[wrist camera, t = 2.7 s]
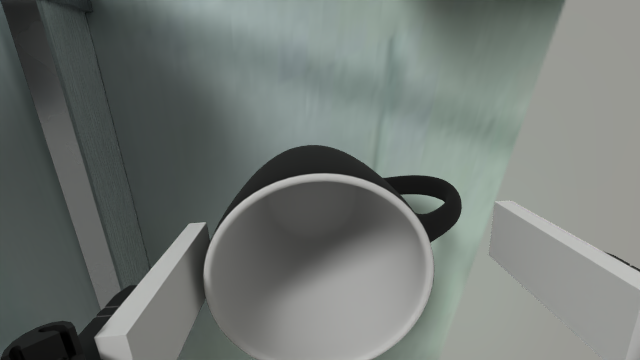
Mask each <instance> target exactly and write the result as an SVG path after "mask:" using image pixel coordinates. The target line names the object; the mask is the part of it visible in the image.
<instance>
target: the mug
mask: <svg viewBox="0 0 640 360" xmlns="http://www.w3.org/2000/svg"><path fill="white" fill-rule="evenodd" d="M403 194H421V195H428V196H432V197H436V198H438V199H441V200H443V201H444V202H445V203H444V204H443V205H442V206H441V207H439V208H438V209H436V210H435V211H433V212H430V213H428V214H417V213H415V212H414V211H413V210H412V208H411V207H410V206H409V205H408V203H407V202H406V201H405V200H404V199H403V197H402V196H401V195H403ZM461 209H462V204H461V199H460V196H459V193H458V192H457V190H456V189H455V188H454V186H452V185H451V184H450V183H448V182H447V181H445V180H442V179H439V178H435V177H430V176H420V175H410V176H397V177H389V178H382V177H381V176H379V175H378V174H377V173H376V172H374V171H373V170H372V169H371V168H369V167H368V166H367V165H365V164H364V163H362V162H361V161H359V160H357V159H356V158H354V157H353V156H351V155H349V154H347V153H345V152H342V151H340V150H337V149H334V148H331V147H326V146H319V145H307V146H300V147H296V148H293V149H290V150H287V151H285V152H283V153H281V154H279V155H277V156H276V157H274V158H273V159H271V160H270V161H269V162H267V163H266V164H265V165H264V166H263V167H261V168H260V169H259V170H258V171H257V172H256V173H255V174H254V175H253V176H252V177H251V179H250V180H249V181H248V182H247V183H246V184H245V185H244V187H243V188H242V189H241V191H240V192H239V193H238V194H237V196H236V197H235V198H234V200H233V201H232V203H231V204H230V206H229V207H228V209H227V210H226V212H225V214H224V215H223V217H222V219H221V220H220V222H219V224H218V226H217V228H216V230H215V232H214V234H213V236H212V239H211V241H210V244H209V247H208V250H207V253H206V258H205V263H204V273H203V280H204V291H205V296H206V300H207V304H208V306H209V309H210V311H211V314H212V316H213V317H214V319H215V321H216V323H217V324H218V326H219V327H220V329H221V330H222V331H223V332H224V334H225V335H226V336H227V337H228V338H229V339H230V340H231V341H232V342H233V343H234V344H235V345H236V346H238V347H239V348H240V349H241V350H243V351H244V352H246V353H247V354H249V355H250V356H252V357H254V358H255V359H257V360H372V359H374V358H376V357H378V356H379V355H381V354H383V353H384V352H386V351H387V350H389V349H390V348H392V347H393V346H394V345H395V344H397V343H398V342H399V341H400V340H401V339H402V338H403V337H404V336H405V335H406V334H407V333H408V332H409V331H410V330H411V328H412V327H413V326H414V325H415V323H416V322H417V320H418V319H419V318H420V316H421V314H422V312H423V311H424V309H425V306H426V304H427V302H428V299H429V296H430V293H431V290H432V285H433V279H434V258H433V252H432V247H431V244H430V243H431V242H432V241H434V240H435V239H437V238H438V237H440V236H441V235H443V234H444V233H445V232H447V231H448V230H449V229H450V228H451V227H452V226H454V224H455V223H456V222H457V221H458V219H459V217H460V214H461Z"/></svg>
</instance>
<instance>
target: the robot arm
mask: <svg viewBox="0 0 640 360" xmlns="http://www.w3.org/2000/svg"><path fill="white" fill-rule="evenodd" d="M209 244H210V239H209V234H208V228H207V222H202V223H189V224H188V225H187V227H186V228H185V229H184V230H183V231H182V233H181V234H180V235H179V236H178V237H177V239H176V240H175V241H174V242H173V243H172V245H171V246H170V247H169V248H168V249H167V251H166V252H165V253H164V254H163V255H162V257H161V258H160V259H159V260H158V261H157V263H156V264H155V265H154V266H153V267H152V269H151V270H150V271H149V272H148V273H147V275H146V276H145V277H144V278H143V279H142V281H141V282H140V283H139V284H138V285H129V286H128V287H126V288H125V289H123V290H122V291H120V292H119V293H117V294H116V295H115V296H114V297H113V298H112V299H111V300H110V301H109V302H108V303H107V304H106V306H105V308H103V309H102V310H101V311H100V312H99V313H98V314H97V317H96V318H94V319H93V320H92V321H91V322H90V323H89V324H88V326H87V327H86V328H85V329H84V330H83V331H82V332H81V333H80V334H79V335H77V332H76V329H75V327H74V325H73V324H72V323H71V322H66V321H59V322H52V323H49V324H46V325H43V326H40V327H37V328H35V329H33V330H31V331H29V332H27V333H25V334H24V335H22V336H21V337H19V338H18V339H16V340H15V341H13V342H12V343H11V344H10V345H9V346H8V347H7V348H6V349H5V350H4V352H3V354H2V356H1V360H177V358H178V356H179V354H180V352H181V350H182V348H183V346H184V343H185V341H186V339H187V337H188V335H189V333H190V330H191V328H192V326H193V324H194V322H195V320H196V318H197V315H198V313H199V311H200V309H201V307H202V305H203V302H204V300H205V298H206V296H205V291H204V280H203V273H204V263H205V258H206V253H207V250H208V247H209ZM489 255H490V256H491V257H492V258H493V259H494V260H495V261H496V262H497V263H498V264H499V265H500V266H501V267H503V268H504V269H505V270H506V271H507V272H508V273H509V274H510V275H511V276H512V277H513V278H515V279H516V280H517V281H518V282H519V283H520V284H521V285H522V286H523V287H524V288H525V289H526V290H528V291H529V292H530V293H531V294H532V295H533V296H534V297H535V298H536V299H537V300H538V301H540V302H541V303H542V304H543V305H544V306H545V307H546V308H547V309H548V310H549V311H551V312H552V313H553V314H554V315H555V316H556V317H557V318H558V319H559V320H560V321H561V322H562V323H564V324H565V325H566V326H567V327H568V328H569V329H570V330H571V331H572V332H573V333H574V334H576V335H577V336H578V337H579V338H580V339H581V340H582V341H583V342H584V343H585V344H587V345H588V346H589V347H590V348H591V349H592V350H593V351H594V352H595V353H596V354H597V355H598V356H600V357H601V358H602V359H603V360H640V269H638V268H636V267H634V266H630V264H629V263H627V262H625V261H623V260H622V259H619V258H618V257H616V256H614V255H611V254H609V253H606V252H603V251H601V250H599V249H597V248H596V247H594V246H592V245H590V244H588V243H587V242H585V241H583V240H581V239H579V238H578V237H576V236H574V235H572V234H570V233H569V232H567V231H565V230H563V229H561V228H560V227H558V226H556V225H554V224H552V223H551V222H549V221H547V220H545V219H543V218H541V217H540V216H538V215H536V214H534V213H533V212H531V211H529V210H527V209H525V208H524V207H522V206H520V205H518V204H516V203H515V202H513V201H497V202H495V203H494V212H493V221H492V231H491V239H490V249H489Z"/></svg>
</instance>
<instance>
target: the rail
mask: <svg viewBox="0 0 640 360" xmlns="http://www.w3.org/2000/svg"><path fill="white" fill-rule="evenodd" d="M0 1H1V3H2V6H3V9H4V12H5V15H6V18H7V21H8V24H9V27H10V30H11V33H12V37H13V40H14V43H15V46H16V49H17V52H18V55H19V58H20V61H21V64H22V68H23V71H24V74H25V77H26V80H27V83H28V86H29V89H30V92H31V95H32V99H33V102H34V105H35V108H36V111H37V114H38V117H39V120H40V123H41V126H42V129H43V133H44V136H45V139H46V142H47V145H48V148H49V151H50V154H51V157H52V160H53V164H54V167H55V170H56V173H57V176H58V179H59V182H60V185H61V188H62V191H63V194H64V198H65V201H66V204H67V207H68V210H69V213H70V216H71V219H72V222H73V225H74V229H75V232H76V235H77V238H78V241H79V244H80V247H81V250H82V253H83V256H84V260H85V263H86V266H87V269H88V272H89V275H90V278H91V281H92V284H93V287H94V290H95V294H96V297H97V300H98V303H99V306H100V309H101V310H102V309H103V308H105V306H106V304H107V303H108V302H109V301H110V300H111V299H112V298H113V297H114V296H115V295H116V294H117V293H119V292H120V291H122V290H123V289H125V288H126V287H128V286H129V285H138V284H139V283H140V282H141V281H142V279H143V278H144V277H145V276H146V275H147V273H148V272H149V271H150V268H149V264H148V260H147V256H146V252H145V248H144V244H143V240H142V236H141V232H140V228H139V224H138V220H137V216H136V212H135V209H134V205H133V201H132V197H131V193H130V189H129V185H128V181H127V177H126V173H125V169H124V165H123V161H122V157H121V153H120V149H119V145H118V141H117V138H116V134H115V130H114V126H113V122H112V118H111V114H110V110H109V106H108V102H107V98H106V94H105V90H104V86H103V82H102V78H101V74H100V71H99V67H98V63H97V59H96V55H95V51H94V47H93V43H92V39H91V35H90V31H89V27H88V23H87V19H86V15H85V12H93V10H92V6H91V2H90V0H0Z"/></svg>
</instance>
